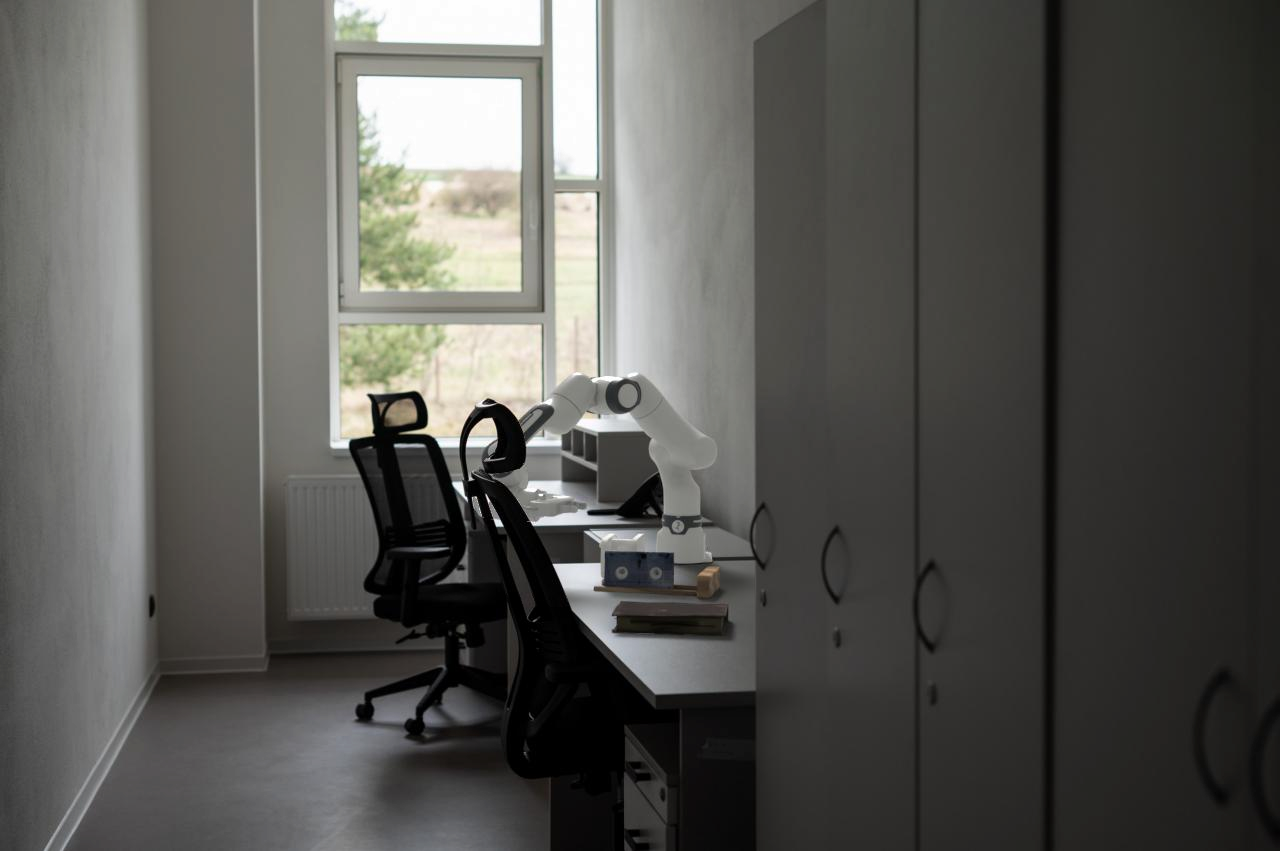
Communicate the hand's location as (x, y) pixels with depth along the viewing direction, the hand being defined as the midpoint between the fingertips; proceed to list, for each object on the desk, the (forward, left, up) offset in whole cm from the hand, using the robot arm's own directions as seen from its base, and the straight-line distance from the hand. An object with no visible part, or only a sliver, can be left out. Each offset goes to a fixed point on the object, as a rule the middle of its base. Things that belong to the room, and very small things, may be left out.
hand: (581, 507), depth 334 cm
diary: (+45, +34, -22) cm, 60 cm away
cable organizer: (-18, +7, -21) cm, 29 cm away
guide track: (0, +20, -21) cm, 29 cm away
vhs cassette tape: (0, +16, -21) cm, 27 cm away
